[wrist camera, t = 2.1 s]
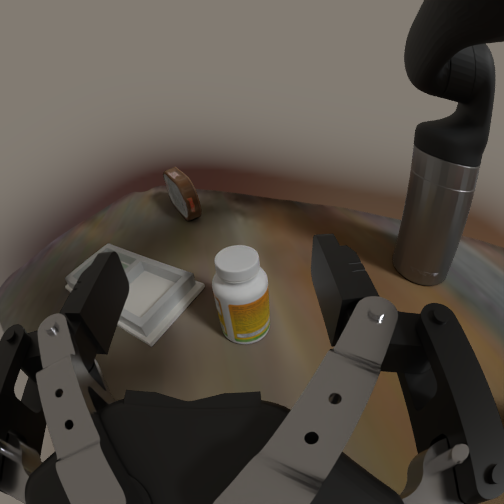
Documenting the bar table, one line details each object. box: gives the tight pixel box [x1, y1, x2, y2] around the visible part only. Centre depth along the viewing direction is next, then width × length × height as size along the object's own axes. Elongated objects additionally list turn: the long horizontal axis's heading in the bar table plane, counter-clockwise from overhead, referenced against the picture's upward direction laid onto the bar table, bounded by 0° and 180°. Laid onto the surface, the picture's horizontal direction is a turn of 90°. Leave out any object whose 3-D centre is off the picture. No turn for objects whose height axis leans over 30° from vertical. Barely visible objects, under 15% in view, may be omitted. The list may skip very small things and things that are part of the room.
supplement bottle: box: [212, 245, 270, 344], centre depth 28 cm, size 5×5×10 cm
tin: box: [163, 167, 201, 221], centre depth 53 cm, size 15×3×8 cm, turn 31°
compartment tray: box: [65, 243, 205, 347], centre depth 36 cm, size 11×21×2 cm, turn 63°
